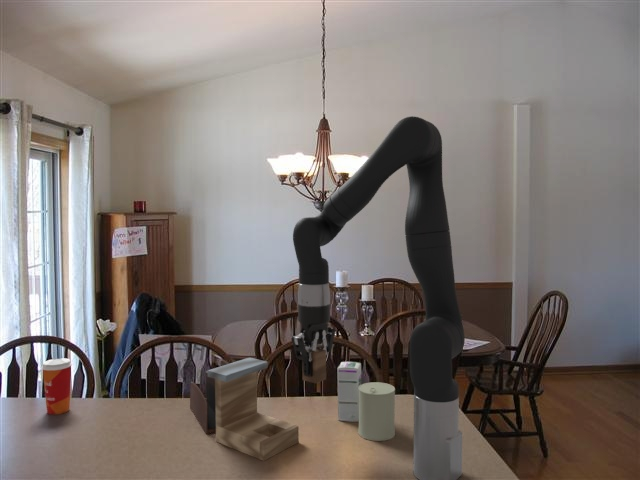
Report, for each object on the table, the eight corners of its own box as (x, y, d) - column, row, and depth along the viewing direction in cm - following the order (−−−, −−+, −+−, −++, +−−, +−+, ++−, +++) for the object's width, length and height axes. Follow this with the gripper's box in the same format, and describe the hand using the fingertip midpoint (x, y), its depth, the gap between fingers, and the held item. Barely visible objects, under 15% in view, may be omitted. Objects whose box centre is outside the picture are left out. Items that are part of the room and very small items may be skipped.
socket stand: (301, 440, 130) (300, 369, 129) (260, 462, 119) (259, 385, 118) (250, 422, 141) (249, 357, 140) (208, 441, 130) (207, 370, 129)
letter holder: (224, 402, 156) (223, 355, 155) (244, 428, 138) (243, 374, 137) (189, 408, 152) (188, 359, 151) (205, 435, 134) (205, 379, 133)
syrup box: (359, 422, 141) (359, 368, 140) (337, 420, 142) (337, 367, 141) (362, 414, 147) (362, 362, 146) (340, 412, 148) (340, 360, 147)
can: (352, 436, 133) (352, 388, 132) (366, 423, 141) (366, 378, 140) (387, 444, 128) (387, 394, 127) (400, 429, 136) (400, 383, 136)
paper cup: (43, 408, 152) (41, 359, 151) (73, 404, 155) (71, 356, 154) (42, 418, 145) (40, 367, 144) (73, 413, 148) (71, 363, 147)
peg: (326, 379, 128) (325, 350, 127) (315, 383, 125) (315, 353, 124) (313, 375, 130) (312, 347, 130) (302, 380, 127) (302, 350, 127)
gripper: (306, 308, 118) (307, 384, 119) (344, 299, 129) (344, 369, 131) (281, 304, 123) (282, 378, 124) (320, 296, 134) (320, 363, 135)
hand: (314, 373), depth 127 cm, fingers closed on peg, 4 cm apart
